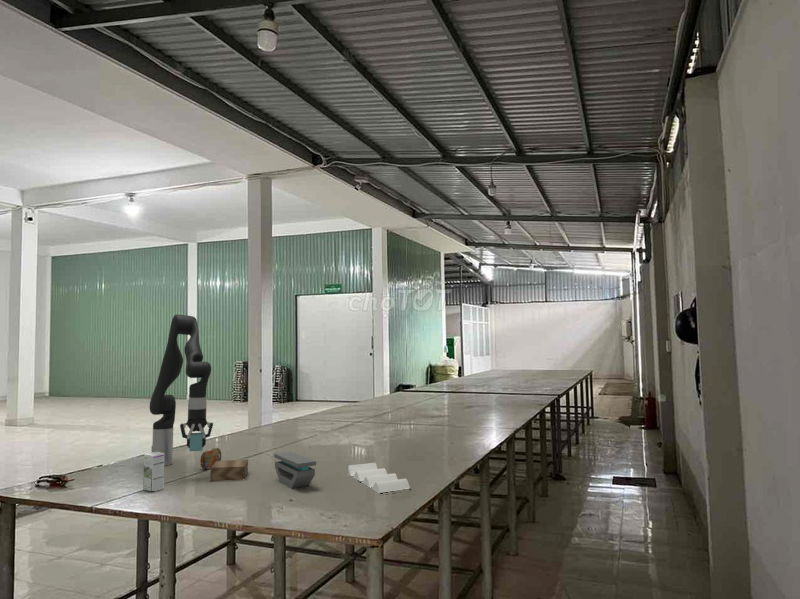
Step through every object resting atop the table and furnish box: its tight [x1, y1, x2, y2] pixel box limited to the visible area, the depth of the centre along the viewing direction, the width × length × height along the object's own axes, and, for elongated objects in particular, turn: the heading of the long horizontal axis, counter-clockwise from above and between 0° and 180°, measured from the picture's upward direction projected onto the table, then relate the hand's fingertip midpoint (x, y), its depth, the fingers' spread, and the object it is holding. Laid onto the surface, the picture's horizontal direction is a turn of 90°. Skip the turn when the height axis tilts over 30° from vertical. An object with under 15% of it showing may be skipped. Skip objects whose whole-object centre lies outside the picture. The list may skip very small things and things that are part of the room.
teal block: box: [189, 432, 204, 452], centre depth 242 cm, size 5×5×7 cm
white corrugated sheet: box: [347, 462, 411, 495], centre depth 233 cm, size 13×35×5 cm, turn 26°
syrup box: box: [143, 452, 165, 492], centre depth 224 cm, size 6×6×14 cm
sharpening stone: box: [273, 451, 317, 489], centre depth 232 cm, size 25×8×11 cm, turn 34°
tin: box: [200, 447, 222, 470], centre depth 264 cm, size 15×3×8 cm, turn 168°
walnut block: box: [210, 459, 249, 482], centre depth 245 cm, size 14×14×6 cm
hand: (196, 447), depth 242 cm, fingers closed on teal block, 5 cm apart
